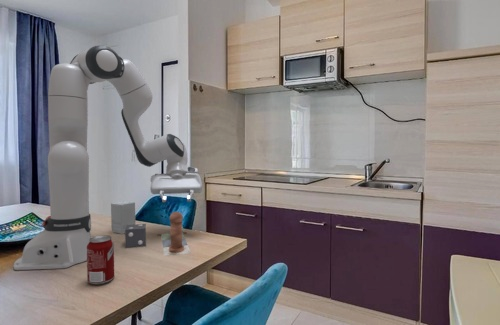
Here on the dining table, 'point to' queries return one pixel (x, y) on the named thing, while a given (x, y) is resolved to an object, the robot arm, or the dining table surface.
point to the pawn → (176, 232)
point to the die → (135, 235)
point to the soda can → (100, 260)
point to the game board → (167, 243)
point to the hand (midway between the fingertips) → (176, 201)
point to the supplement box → (122, 215)
